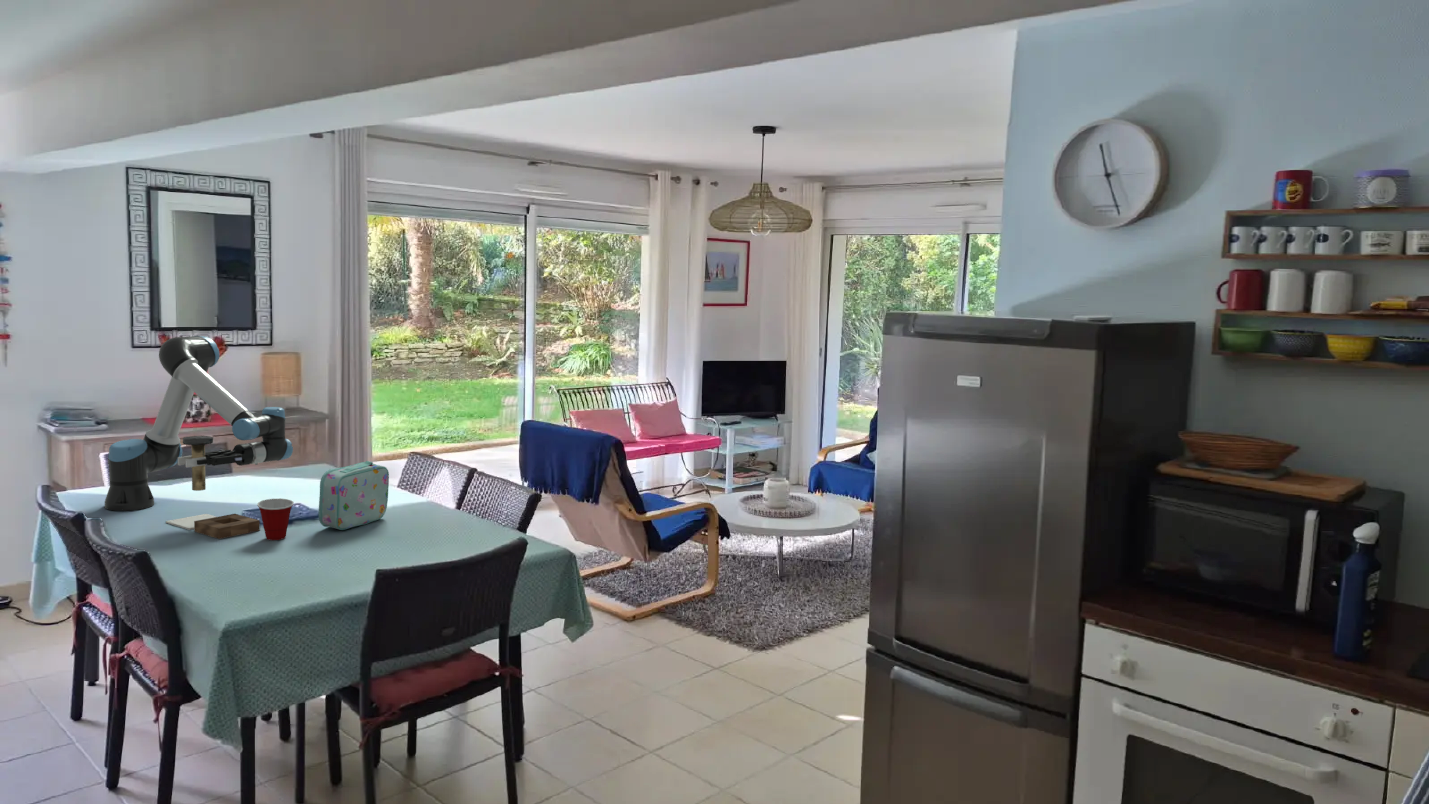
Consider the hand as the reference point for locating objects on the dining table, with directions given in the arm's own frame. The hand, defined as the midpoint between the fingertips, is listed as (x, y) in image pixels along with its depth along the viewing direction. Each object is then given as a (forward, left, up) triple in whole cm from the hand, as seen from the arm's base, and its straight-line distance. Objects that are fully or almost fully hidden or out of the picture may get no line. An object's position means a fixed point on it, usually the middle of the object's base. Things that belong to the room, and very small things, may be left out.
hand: (182, 462), depth 318 cm
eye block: (+16, +5, -22) cm, 27 cm away
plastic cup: (+35, +10, -22) cm, 43 cm away
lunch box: (+38, +38, -22) cm, 58 cm away
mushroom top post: (0, +5, -10) cm, 11 cm away
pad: (-1, +5, -22) cm, 22 cm away
